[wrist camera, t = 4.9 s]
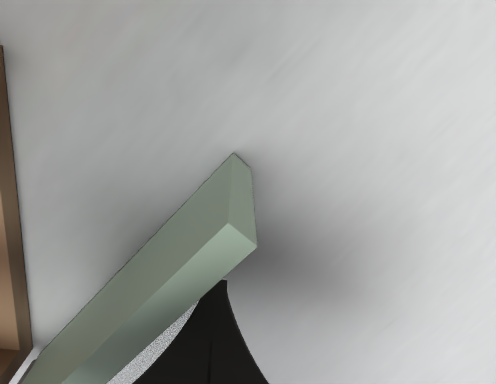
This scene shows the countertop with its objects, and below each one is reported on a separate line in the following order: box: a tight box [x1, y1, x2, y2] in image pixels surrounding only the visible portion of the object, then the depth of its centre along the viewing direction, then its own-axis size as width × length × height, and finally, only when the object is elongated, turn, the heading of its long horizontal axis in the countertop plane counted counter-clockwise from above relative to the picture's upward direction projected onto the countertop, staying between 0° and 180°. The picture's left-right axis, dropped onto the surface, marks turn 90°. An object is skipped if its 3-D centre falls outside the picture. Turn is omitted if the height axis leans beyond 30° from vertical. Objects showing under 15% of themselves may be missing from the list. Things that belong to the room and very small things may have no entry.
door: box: [17, 153, 257, 384], centre depth 13 cm, size 16×1×6 cm, turn 136°
